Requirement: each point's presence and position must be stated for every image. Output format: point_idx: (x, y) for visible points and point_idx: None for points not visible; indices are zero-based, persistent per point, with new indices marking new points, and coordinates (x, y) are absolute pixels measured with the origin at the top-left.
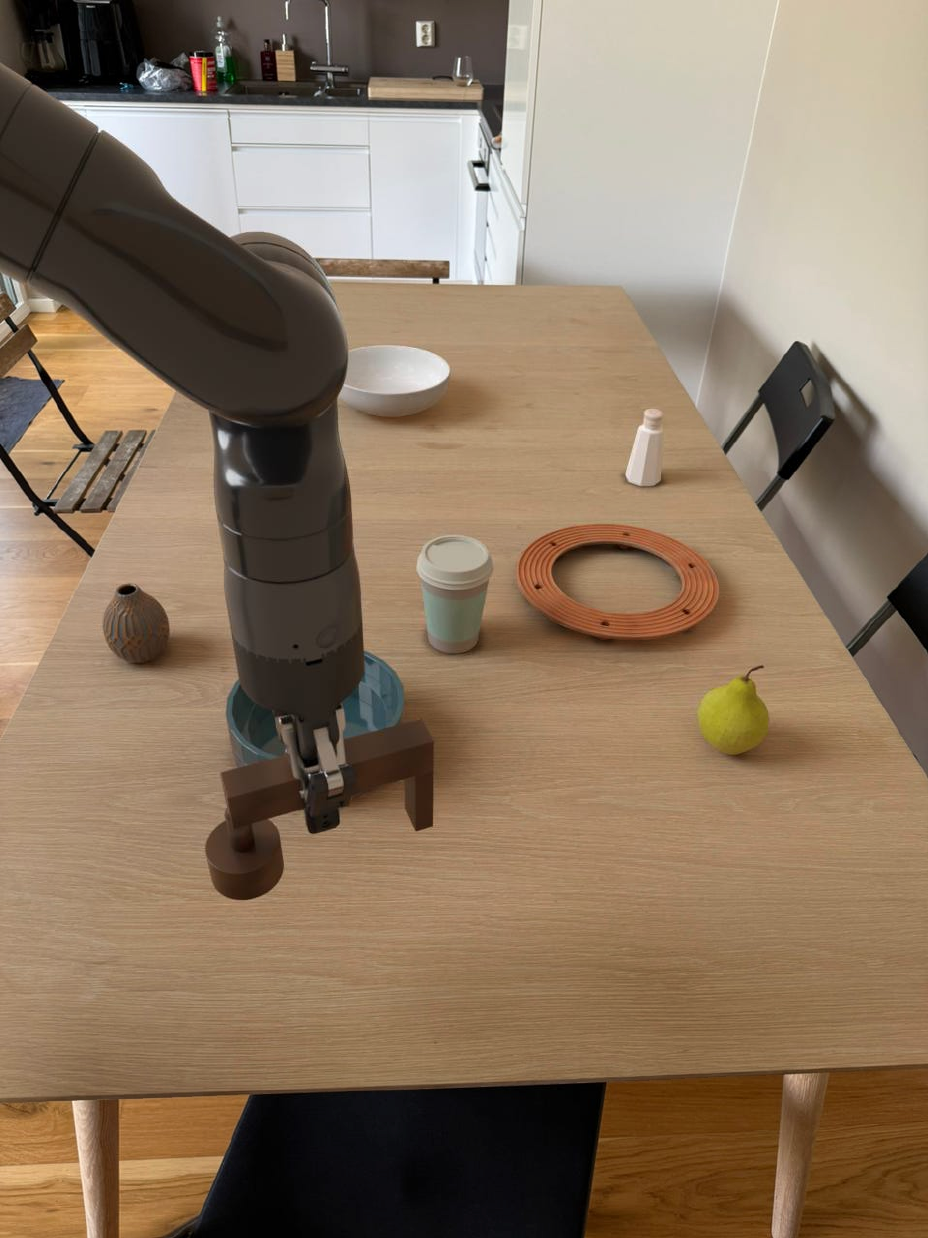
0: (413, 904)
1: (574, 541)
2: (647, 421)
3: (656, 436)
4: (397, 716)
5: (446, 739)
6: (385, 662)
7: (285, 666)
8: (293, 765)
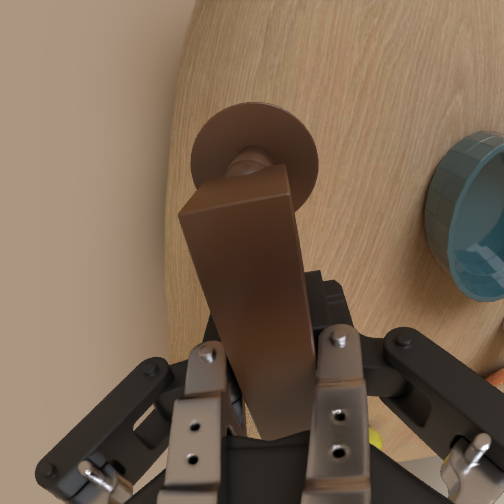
0: (306, 254)
1: None
2: None
3: None
4: (468, 294)
5: (446, 301)
6: None
7: None
8: (172, 430)
